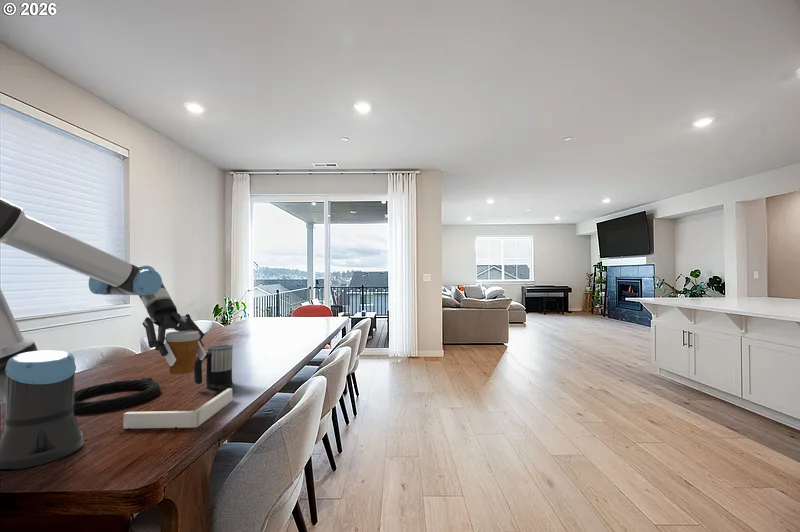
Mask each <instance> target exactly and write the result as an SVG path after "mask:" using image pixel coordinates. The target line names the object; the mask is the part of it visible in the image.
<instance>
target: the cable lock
mask: <svg viewBox="0 0 800 532" xmlns="http://www.w3.org/2000/svg"><path fill="white" fill-rule="evenodd" d="M128 389H138V390H141V389H143V390H141V391H140V392H135V393H132V394H129V395H126V396H125V395H124V396H121V397H115V398H111V399H101V400H94V401H81V400H83V399H86V397H87V398H90V397H89V396H91V397H95V396H98V395H101V393H103V394H106V393H105V392H109V393H113V392H112V391H114V392H118V391H117V390H123V391H129V390H128ZM160 391H161V386H160V384H159V383H158V382H156V381H154V380H153V378H152V377H150V376H147V377H142V378H141V379H140V378H139V379H131V380H129V379H128V380H121V381H120V380H118V381H112V382H107V383H100V384H95V385H92V386H87V387H84V388H80V389H79V390H75V397H74V415H76V414H75V413H77V414H79V413H87V414H93V413H102V412H101V411H104V412H109V411H108V410H111V411H113V409H114V410H119V409H118V408H120V409H123V408H122V407H125V408H129V407H131V406H135V405H137V403H138V404H141V403H140V402H142V403H144V402H146V401H148V400H150V398H151V399H153V398H155V396H157V395H158V394H159V392H160ZM97 394H98V395H97ZM94 395H95V396H94ZM80 399H81V400H80ZM77 400H79V401H77ZM143 401H144V402H143ZM134 404H135V405H134ZM128 406H129V407H128Z"/></svg>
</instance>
